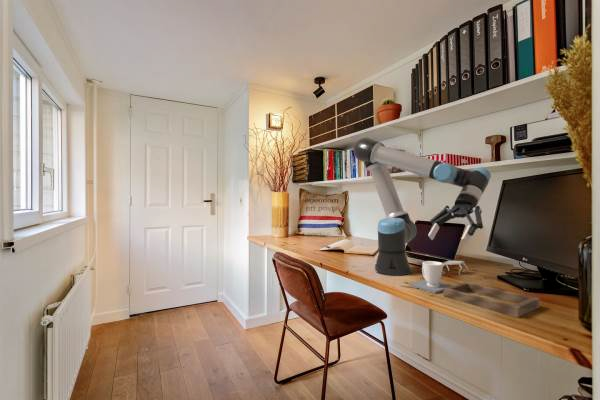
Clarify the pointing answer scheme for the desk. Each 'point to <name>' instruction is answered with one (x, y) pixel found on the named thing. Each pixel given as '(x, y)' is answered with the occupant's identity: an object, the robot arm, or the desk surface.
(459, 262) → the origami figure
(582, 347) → the desk surface
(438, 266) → the cup
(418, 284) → the grey mat
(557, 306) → the desk surface
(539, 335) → the desk surface
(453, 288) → the tray
